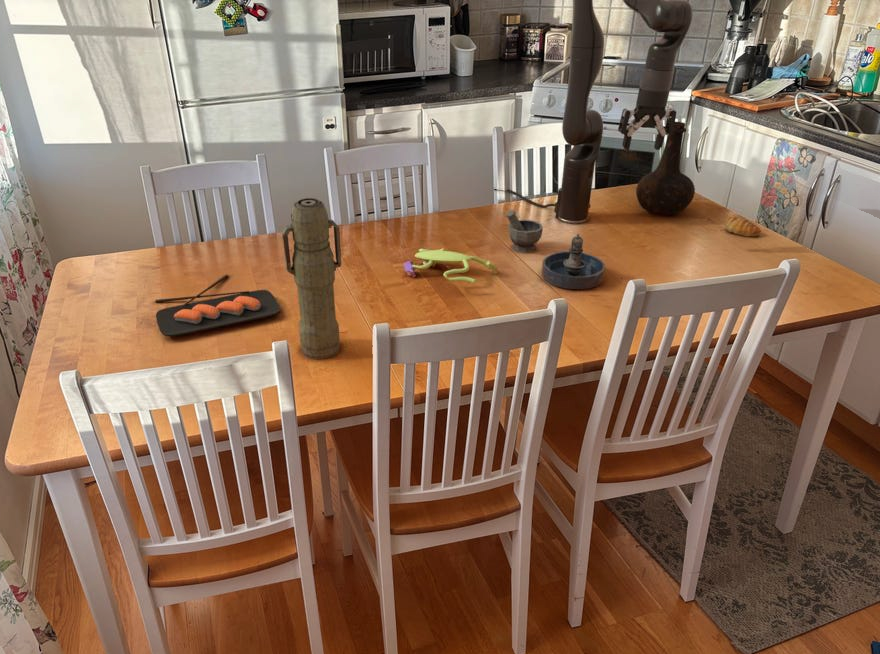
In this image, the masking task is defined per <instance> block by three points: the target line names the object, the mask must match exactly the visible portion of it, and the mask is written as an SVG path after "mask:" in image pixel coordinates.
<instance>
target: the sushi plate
mask: <svg viewBox="0 0 880 654" xmlns="http://www.w3.org/2000/svg"><path fill="white" fill-rule="evenodd" d="M228 277H229V274H225V275H223V276H222V277H220V278H219V279H218V280H217V281H215V282H213V283H212V284H211V285H209V286H208V287H207V288H206V289H204V290H203V291H201V292H200V293H198V294H197V295H194V296H193V295H192V296H182V297H171V298H160V299H155V303H167V302H174V301H184V300H188V301H187V302H185V303H183V304H179V305H175V306H174V305H173V306H170V307H169V306H168V307H165V308H162V309H159V310H158V311H157V312H156V313H155V319H156V323H157V326H158V329H159V331H160V333H161V334H162V336H164V337H177V336H182V335H188V334H193V333H198V332H203V331H208V330H212V329H217V328H221V327H226V326H227V327H228V326H231V325H236V324H240V323H241V324H242V323H245V322H250V321H255V320H259V319H260V320H261V319H266V318H268V317H273V316H275V315H278V314H280V313H281V306H280V303H279V302H278V301H277V299H276V298H275V296H274V294H272V292H271V291H269V290H267V289H257V290H251V291H250V290H245V291H234V292H225V293H215V294H205V293H206V292H207V291H209V290H211V289H212V288H214V287H215V286H217V285H218V284H220V283H222V282H223V281H224V280H226V279H227V278H228ZM203 294H204V295H203ZM219 296H220V297H219ZM209 297H215V298H209ZM200 298H201V299H202V298H209V299H205V300H199V301H195V302H192V301H194V300H196V299H200Z"/></svg>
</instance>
